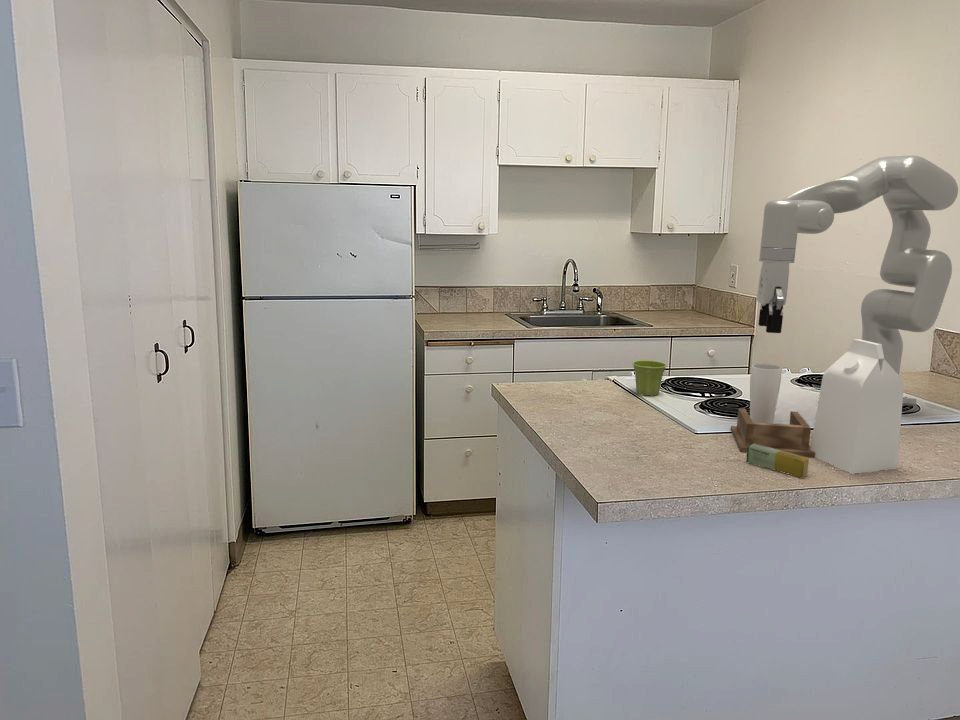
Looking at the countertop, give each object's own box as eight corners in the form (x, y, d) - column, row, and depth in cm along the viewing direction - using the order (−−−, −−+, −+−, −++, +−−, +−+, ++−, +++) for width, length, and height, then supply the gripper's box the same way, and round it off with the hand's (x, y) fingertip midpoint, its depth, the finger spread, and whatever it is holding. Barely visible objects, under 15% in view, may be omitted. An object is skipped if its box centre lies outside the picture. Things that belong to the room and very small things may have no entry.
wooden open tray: (797, 434, 169) (800, 409, 168) (814, 457, 154) (817, 430, 152) (730, 429, 172) (732, 405, 170) (740, 452, 156) (743, 425, 155)
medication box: (744, 463, 150) (746, 445, 149) (751, 459, 152) (752, 441, 151) (802, 479, 142) (804, 460, 141) (808, 476, 144) (810, 457, 143)
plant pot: (643, 387, 211) (645, 358, 209) (671, 394, 204) (673, 364, 202) (623, 393, 204) (625, 363, 202) (652, 399, 198) (654, 368, 196)
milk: (897, 470, 147) (914, 346, 142) (851, 476, 144) (867, 348, 139) (852, 451, 159) (866, 335, 153) (808, 456, 155) (822, 337, 150)
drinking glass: (778, 432, 170) (784, 370, 167) (748, 430, 172) (754, 368, 168) (773, 423, 177) (779, 364, 174) (743, 422, 178) (749, 362, 175)
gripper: (753, 252, 174) (746, 322, 178) (766, 257, 158) (758, 334, 161) (786, 253, 173) (778, 324, 177) (803, 258, 156) (794, 336, 160)
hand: (769, 329), depth 169 cm, fingers open, 9 cm apart
